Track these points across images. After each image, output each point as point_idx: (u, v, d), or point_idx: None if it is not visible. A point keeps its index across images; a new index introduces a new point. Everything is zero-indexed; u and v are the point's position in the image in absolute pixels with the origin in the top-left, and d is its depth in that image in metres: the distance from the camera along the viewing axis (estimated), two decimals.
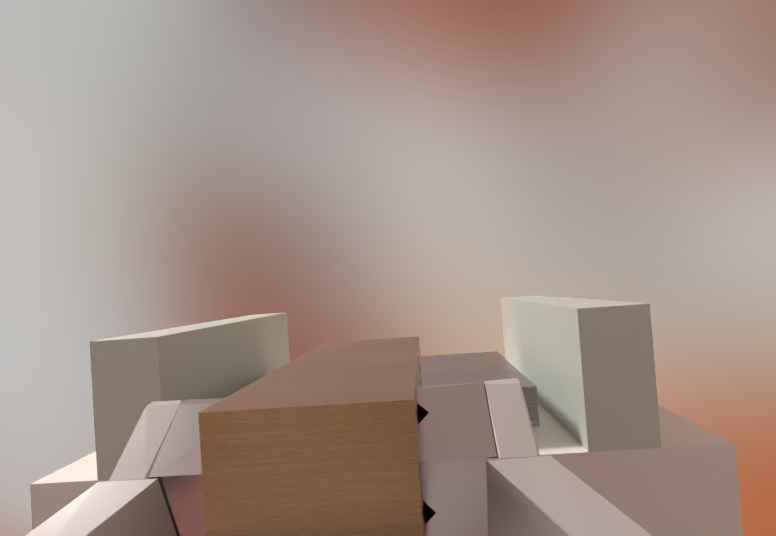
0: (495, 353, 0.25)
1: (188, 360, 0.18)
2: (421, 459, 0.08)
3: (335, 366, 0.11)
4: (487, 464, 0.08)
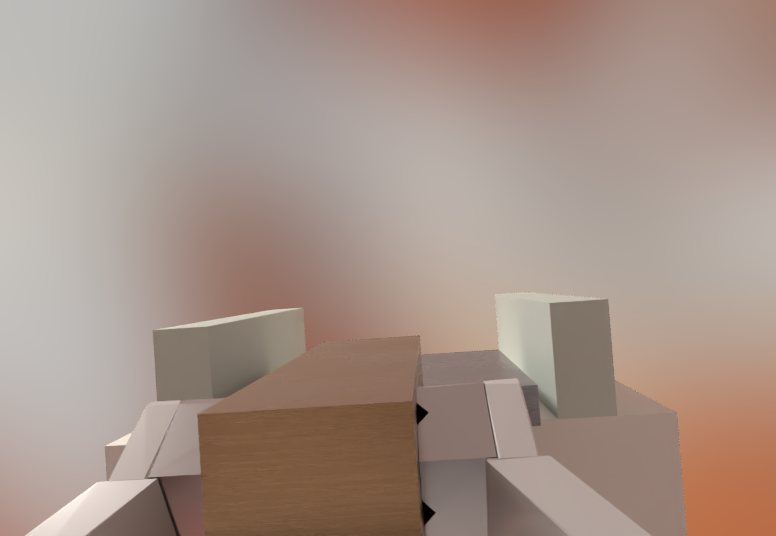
0: (497, 351, 0.25)
1: (229, 346, 0.21)
2: (420, 459, 0.08)
3: (335, 366, 0.11)
4: (486, 464, 0.08)
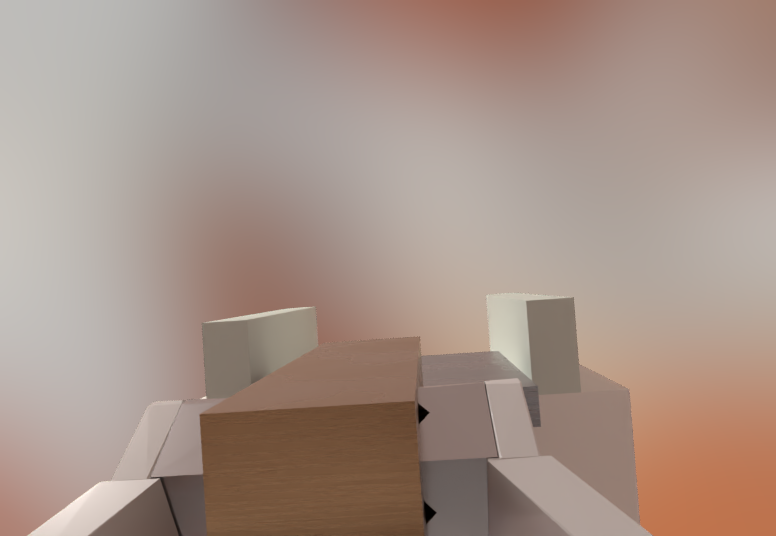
0: (496, 352, 0.25)
1: (261, 337, 0.26)
2: (422, 459, 0.08)
3: (336, 366, 0.11)
4: (488, 464, 0.08)
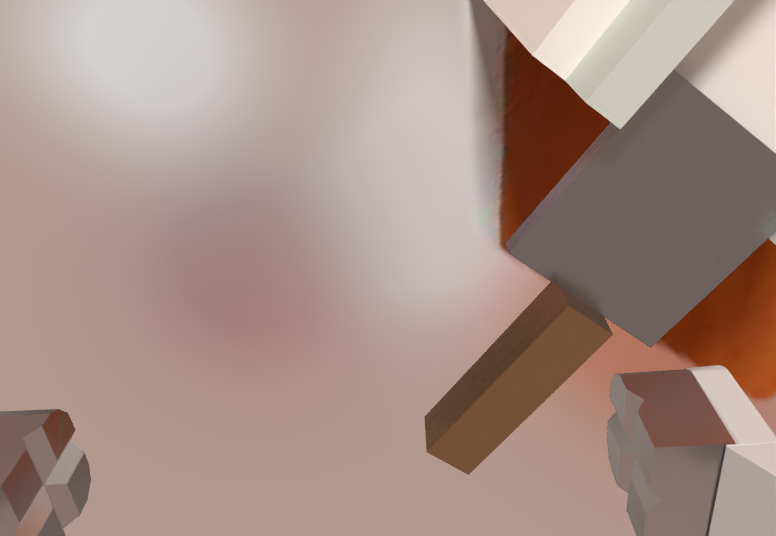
0: None
1: None
2: (655, 445, 0.08)
3: (498, 407, 0.30)
4: (726, 450, 0.08)
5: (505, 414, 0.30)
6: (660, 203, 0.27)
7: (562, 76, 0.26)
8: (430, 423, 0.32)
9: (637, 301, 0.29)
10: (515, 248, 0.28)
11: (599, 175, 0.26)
